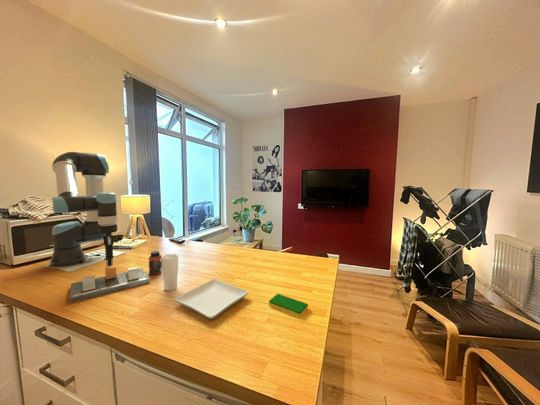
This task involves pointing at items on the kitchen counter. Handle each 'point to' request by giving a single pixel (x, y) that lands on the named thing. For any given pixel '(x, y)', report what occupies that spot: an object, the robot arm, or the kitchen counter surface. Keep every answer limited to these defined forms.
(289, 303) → the dish sponge
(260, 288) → the kitchen counter surface
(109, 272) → the toggle
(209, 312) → the salad plate
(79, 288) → the panel
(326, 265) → the kitchen counter surface
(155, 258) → the supplement bottle
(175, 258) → the white tumbler
